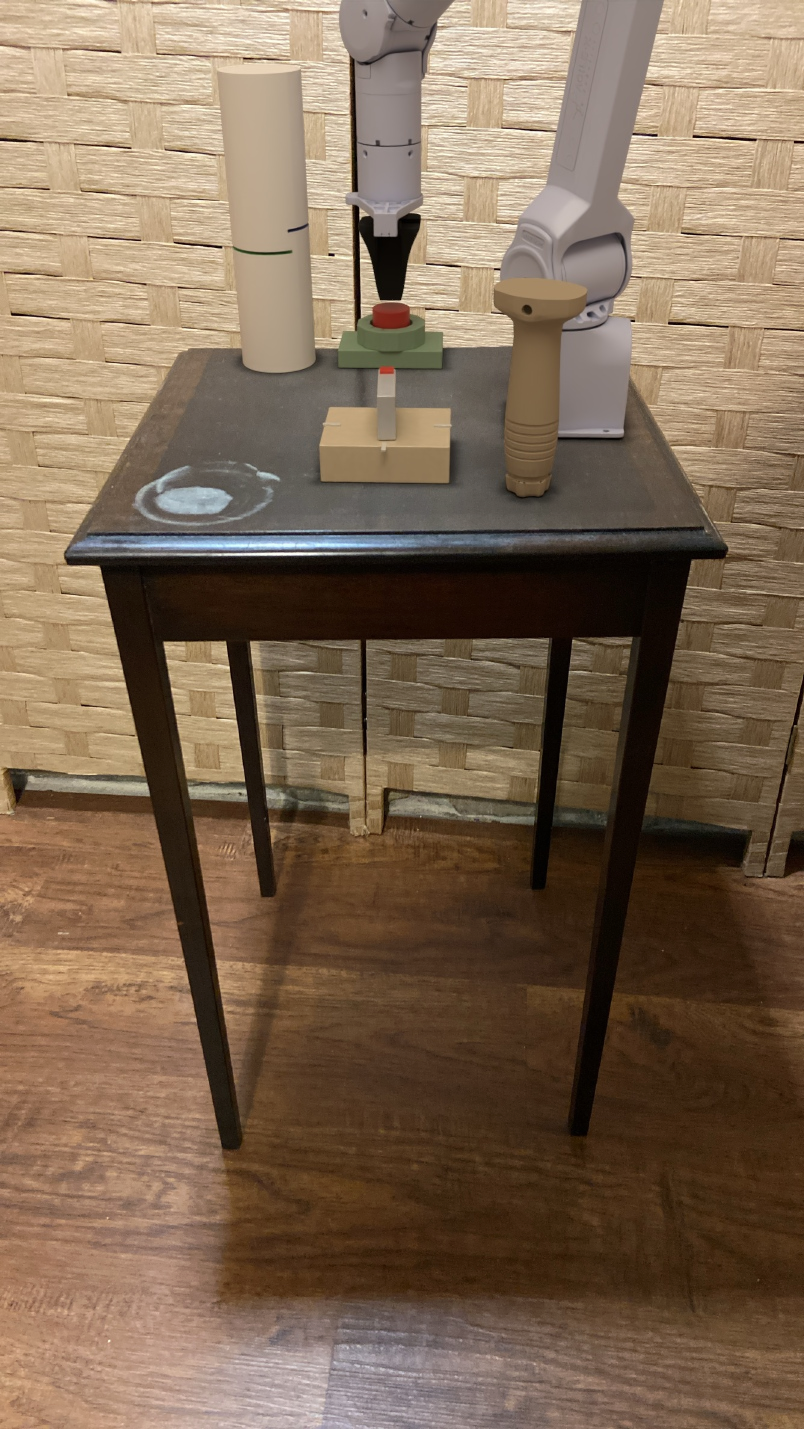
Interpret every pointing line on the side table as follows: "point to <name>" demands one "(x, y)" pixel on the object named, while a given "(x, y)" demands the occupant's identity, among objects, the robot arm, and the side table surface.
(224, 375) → the side table surface
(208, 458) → the side table surface
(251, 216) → the cylindrical container
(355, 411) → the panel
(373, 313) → the button
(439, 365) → the button block
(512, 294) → the handle
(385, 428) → the grey rectangular plate
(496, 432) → the side table surface
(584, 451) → the side table surface
